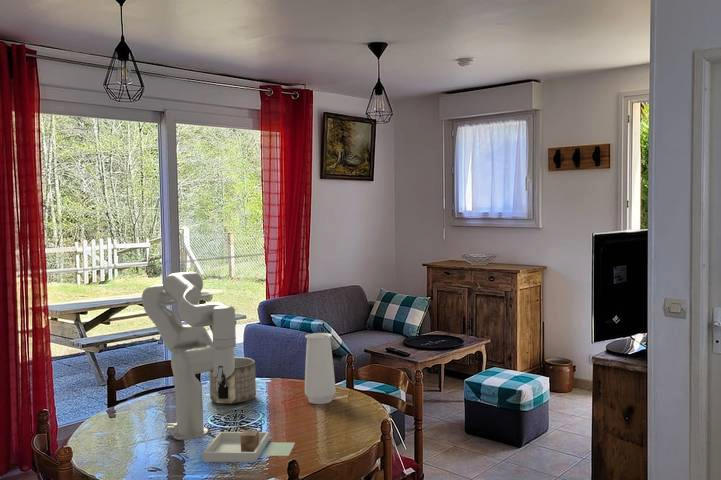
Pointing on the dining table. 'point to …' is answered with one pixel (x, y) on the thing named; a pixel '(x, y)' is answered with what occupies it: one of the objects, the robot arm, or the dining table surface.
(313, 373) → the vase
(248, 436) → the walnut block
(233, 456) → the bin
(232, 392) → the birch box
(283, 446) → the pad
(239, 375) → the planter
